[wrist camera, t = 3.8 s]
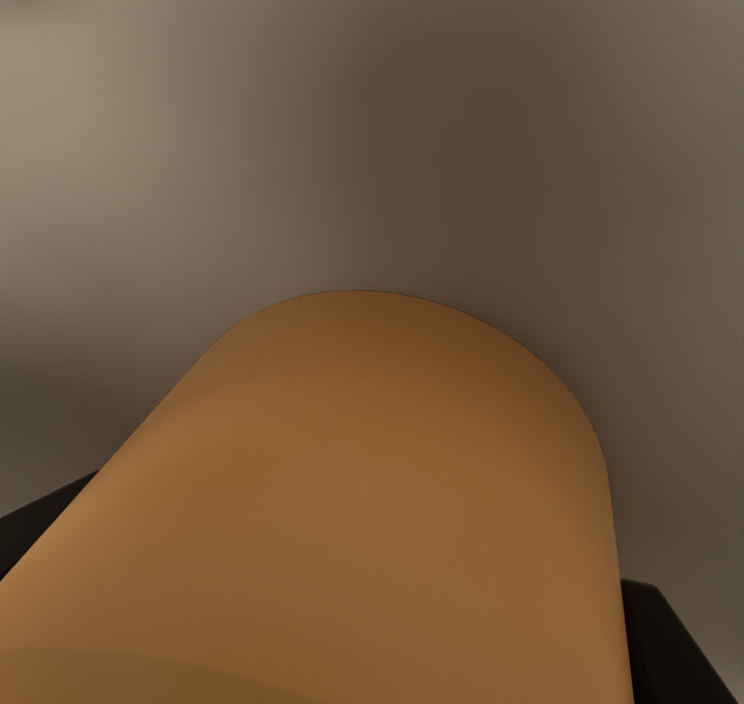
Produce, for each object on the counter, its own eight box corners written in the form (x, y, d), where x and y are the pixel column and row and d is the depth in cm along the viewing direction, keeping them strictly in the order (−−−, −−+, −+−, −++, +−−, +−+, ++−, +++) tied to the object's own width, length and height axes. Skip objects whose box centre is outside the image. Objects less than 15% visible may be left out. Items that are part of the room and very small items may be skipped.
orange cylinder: (557, 682, 10) (562, 1172, 6) (188, 594, 11) (-25, 967, 7) (669, 335, 7) (825, 825, 3) (156, 256, 8) (-244, 552, 4)
